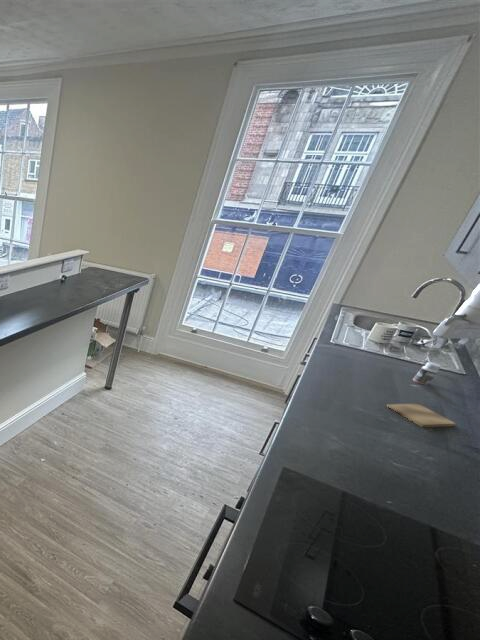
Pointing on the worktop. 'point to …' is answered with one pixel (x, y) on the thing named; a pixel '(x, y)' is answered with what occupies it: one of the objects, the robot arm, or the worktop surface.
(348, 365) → the worktop surface
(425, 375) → the pill bottle
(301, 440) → the worktop surface
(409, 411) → the board
